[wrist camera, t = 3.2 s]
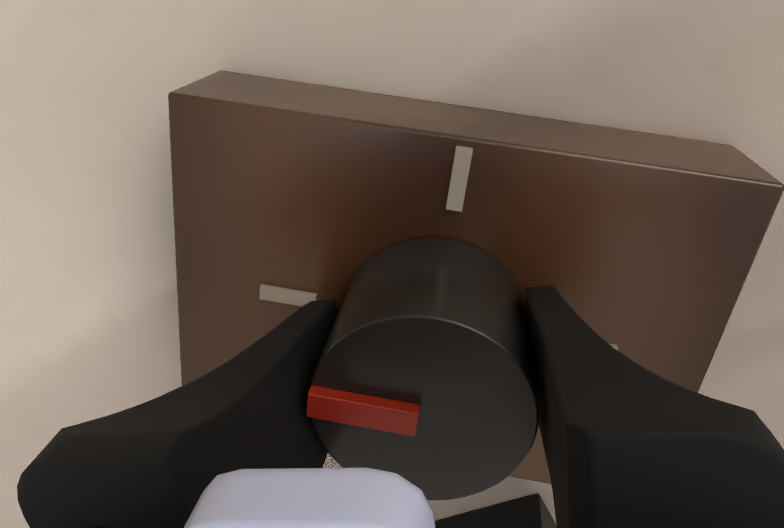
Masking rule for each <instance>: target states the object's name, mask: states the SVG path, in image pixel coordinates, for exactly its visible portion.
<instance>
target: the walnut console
mask: <svg viewBox="0 0 784 528" xmlns="http://www.w3.org/2000/svg"><path fill="white" fill-rule="evenodd" d="M168 98H169V120H170V141H171V163H172V184H173V206H174V227H175V249H176V270H177V292H178V313H179V335H180V356H181V378H182V386H184V385H186V384H188V383H190V382H192V381H194V380H196V379H198V378H200V377H202V376H203V375H205V374H207V373H209V372H210V371H212V370H214V369H216V368H217V367H219V366H221V365H222V364H224V363H226V362H227V361H229V360H230V359H232V358H233V357H235V356H236V355H238V354H239V353H241V352H242V351H243V350H245V349H246V348H248V347H249V346H251V345H252V344H253V343H255V342H256V341H258V340H259V339H261V338H262V337H263V336H265V335H266V334H267V333H268V332H270V331H271V330H272V329H274V328H275V327H276V326H278V325H279V324H280V323H282V322H283V321H284V320H285V319H287V318H288V317H289V316H291V315H292V314H293V313H294V312H296V311H297V310H298V309H300V308H301V307H303V306H304V305H305V304H307V303H309V302H310V301H316V300H332V299H336V303H337V308H338V313H339V310H340V308H341V306H342V303H343V301H344V298H345V296H346V294H347V291H348V289H349V286H350V284H351V282H352V281H353V279H354V277H355V275H356V274H357V273H358V271H359V270H360V268H361V267H362V266H363V265H364V264H365V263H366V262H367V261H368V260H369V259H371V258H372V257H373V256H375V255H376V254H377V253H379V252H381V251H382V250H384V249H386V248H388V247H390V246H392V245H395V244H397V243H400V242H404V241H407V240H411V239H419V238H445V239H452V240H456V241H460V242H464V243H466V244H469V245H472V246H474V247H476V248H478V249H480V250H482V251H484V252H486V253H488V254H489V255H491V256H492V257H494V258H495V259H496V260H497V261H499V262H500V263H501V264H502V265H503V266H504V267H505V268H506V269H507V270H508V271H509V272H510V273H511V275H512V276H513V277H514V279H515V280H516V282H517V283H518V285H519V287H520V289H521V291H522V293H523V295H524V298H525V302H526V292H525V287H540V286H554V287H555V288H556V289H557V290H558V291H559V292H560V294H561V295H562V296H563V298H564V299H565V300H566V301H567V303H568V304H569V305H570V306H571V307H572V308H573V310H574V311H575V312H576V313H577V314H578V315H579V316H580V317H581V318H582V319H583V320H584V321H585V322H586V323H587V324H588V325H589V326H590V327H591V328H592V329H593V330H594V331H595V332H596V333H597V334H598V335H599V336H600V337H601V338H603V339H604V340H605V341H606V342H607V343H609V344H610V345H611V346H612V347H613V348H615V349H616V350H617V351H619V352H620V353H622V354H623V355H625V356H626V357H628V358H629V359H631V360H632V361H634V362H635V363H637V364H639V365H640V366H642V367H644V368H645V369H647V370H649V371H651V372H653V373H655V374H657V375H659V376H660V377H662V378H664V379H666V380H668V381H670V382H673V383H675V384H677V385H679V386H681V387H684V388H686V389H689V390H691V391H694V392H696V393H698V391H699V388H700V386H701V383H702V381H703V379H704V376H705V374H706V372H707V369H708V367H709V365H710V362H711V360H712V358H713V355H714V353H715V350H716V348H717V346H718V343H719V341H720V339H721V336H722V334H723V332H724V329H725V327H726V325H727V322H728V320H729V317H730V315H731V313H732V310H733V308H734V306H735V303H736V301H737V299H738V296H739V294H740V292H741V289H742V287H743V284H744V282H745V280H746V277H747V275H748V273H749V270H750V268H751V266H752V263H753V261H754V259H755V256H756V254H757V251H758V249H759V247H760V244H761V242H762V240H763V237H764V235H765V233H766V230H767V228H768V225H769V223H770V221H771V218H772V216H773V214H774V211H775V209H776V207H777V204H778V202H779V200H780V197H781V195H782V192H783V190H784V185H783V184H782V183H781V182H780V181H778V180H777V179H776V178H774V177H773V176H772V175H770V174H769V173H768V172H766V171H765V170H764V169H763V168H761V167H760V166H759V165H757V164H756V163H755V162H753V161H752V160H751V159H750V158H748V157H747V156H746V155H744V154H743V153H742V152H740V151H739V150H738V149H736V148H735V147H734V146H731V145H724V144H717V143H710V142H703V141H697V140H690V139H683V138H676V137H669V136H663V135H656V134H649V133H642V132H635V131H629V130H622V129H615V128H608V127H601V126H595V125H588V124H581V123H574V122H567V121H560V120H554V119H547V118H540V117H533V116H526V115H520V114H513V113H506V112H499V111H492V110H486V109H479V108H472V107H465V106H458V105H452V104H445V103H438V102H431V101H424V100H417V99H411V98H404V97H397V96H390V95H383V94H377V93H370V92H363V91H356V90H349V89H343V88H336V87H329V86H322V85H315V84H309V83H302V82H295V81H288V80H281V79H275V78H268V77H261V76H254V75H247V74H240V73H234V72H227V71H219V72H217V73H214V74H212V75H210V76H207V77H205V78H203V79H200V80H198V81H196V82H193V83H191V84H189V85H186V86H184V87H181V88H179V89H177V90H174V91H172V92H170V93H169V95H168ZM509 476H512V477H517V478H522V479H528V480H533V481H538V482H544V483H549V484H551V479H550V474H549V469H548V465H547V460H546V456H545V451H544V447H543V442H542V437H541V433H540V428H539V425H538V430H537V435H536V438H535V440H534V443H533V446H532V448H531V449H530V451H529V453H528V455H527V456H526V458H525V459H524V461H523V462H522V463H521V464H520V465H519V467H518V468H517V469H516V470H515V471H514V472H512V473H511V474H510V475H509Z"/></svg>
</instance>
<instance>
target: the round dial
mask: <svg viewBox="0 0 784 528" xmlns="http://www.w3.org/2000/svg"><path fill="white" fill-rule="evenodd" d="M306 416H307V417H311V419H312V422H313V426H314V429H315V431H316V433H317V435H318V437H319V439H320V441H321V443H322V444H323V446H324V447H325V449H326V450H327V451H328V453H329V454H330V455H331V456H332V457H333V458H334V460H335V461H336V462H337V463H339V464H340V465H341V466H342V467H343V468H371V469H377V470H382V471H387V472H392V473H397V474H398V475H400V476H401V477H403V478H404V479H406V480H407V481H409V482H410V483H412V484H413V485H415V486H416V487H418V488H419V489H421V490H422V492H423V494H424V496H425V498H426V499H427V500H449V499H455V498H462V497H465V496H469V495H473V494H476V493H479V492H481V491H484V490H487V489H488V488H490V487H492V486H494V485H496V484H498V483H499V482H501V481H502V480H504V479H505V478H507V477H508V476H509V475H510V474H511V473H512V472H514V471H515V470H516V469H517V468H518V467H519V465H520V464H521V463H522V462H523V461H524V459H525V458H526V456H527V455H528V453H529V451H530V449H531V448H532V446H533V443H534V440H535V438H536V435H537V430H538V425H539V406H538V397H537V388H536V379H535V371H534V362H533V355H532V347H531V341H530V336H529V328H528V319H527V308H526V302H525V298H524V295H523V293H522V291H521V289H520V287H519V285H518V283H517V282H516V280H515V279H514V277H513V276H512V275H511V273H510V272H509V271H508V270H507V269H506V268H505V267H504V266H503V265H502V264H501V263H500V262H499V261H497V260H496V259H495V258H494V257H492V256H491V255H489V254H488V253H486V252H484V251H482V250H480V249H478V248H476V247H474V246H472V245H469V244H466V243H464V242H460V241H456V240H452V239H445V238H419V239H411V240H407V241H404V242H400V243H397V244H395V245H392V246H390V247H388V248H386V249H384V250H382V251H381V252H379V253H377V254H376V255H375V256H373V257H372V258H371V259H369V260H368V261H367V262H366V263H365V264H364V265H363V266H362V267H361V268H360V270H359V271H358V273H357V274H356V275H355V277H354V279H353V281H352V282H351V284H350V286H349V289H348V291H347V294H346V296H345V298H344V301H343V303H342V306H341V308H340V310H339V313H338V315H337V317H336V320H335V322H334V325H333V327H332V329H331V332H330V334H329V337H328V339H327V341H326V344H325V346H324V349H323V351H322V353H321V356H320V358H319V361H318V363H317V365H316V368H315V370H314V373H313V376H312V379H311V383H310V389H309V392H308V395H307V409H306Z"/></svg>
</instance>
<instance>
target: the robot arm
mask: <svg viewBox="0 0 784 528" xmlns="http://www.w3.org/2000/svg"><path fill="white" fill-rule="evenodd" d="M525 292H526V308H527V319H528V328H529V336H530V341H531V347H532V355H533V362H534V371H535V379H536V388H537V397H538V406H539V428H540V433H541V437H542V442H543V447H544V451H545V456H546V460H547V465H548V469H549V474H550V479H551V485H552V490H553V497H554V506H555V515H556V524H557V528H784V450H783V448H782V447H781V445H780V444H779V442H778V441H777V440H776V438H775V437H774V436H773V434H772V433H771V431H770V430H769V429H768V428H767V427H766V426H765V424H764V423H763V422H762V421H761V420H760V418H759V417H758V416H757V414H756V413H755V412H754V411H752V410H749V409H746V408H742V407H739V406H736V405H732V404H729V403H726V402H722V401H719V400H716V399H712V398H709V397H707V396H704V395H701V394H699V393H696V392H694V391H691V390H689V389H686V388H684V387H681V386H679V385H677V384H675V383H673V382H670V381H668V380H666V379H664V378H662V377H660V376H659V375H657V374H655V373H653V372H651V371H649V370H647V369H645V368H644V367H642V366H640V365H639V364H637V363H635V362H634V361H632V360H631V359H629V358H628V357H626V356H625V355H623V354H622V353H620V352H619V351H617V350H616V349H615V348H613V347H612V346H611V345H610V344H609V343H607V342H606V341H605V340H604V339H603V338H601V337H600V336H599V335H598V334H597V333H596V332H595V331H594V330H593V329H592V328H591V327H590V326H589V325H588V324H587V323H586V322H585V321H584V320H583V319H582V318H581V317H580V316H579V315H578V314H577V313H576V312H575V311H574V310H573V308H572V307H571V306H570V305H569V304H568V303H567V301H566V300H565V299H564V298H563V296H562V295H561V294H560V292H559V291H558V290H557V289H556V288H555V287H554V286H540V287H525ZM337 315H338V308H337V303H336V299H332V300H316V301H310V302H309V303H307V304H305V305H304V306H303V307H301V308H300V309H298V310H297V311H296V312H294V313H293V314H292V315H291V316H289V317H288V318H287V319H285V320H284V321H283V322H282V323H280V324H279V325H278V326H276V327H275V328H274V329H272V330H271V331H270V332H268V333H267V334H266V335H265V336H263V337H262V338H261V339H259V340H258V341H256V342H255V343H253V344H252V345H251V346H249V347H248V348H246V349H245V350H243V351H242V352H241V353H239V354H238V355H236V356H235V357H233V358H232V359H230V360H229V361H227V362H226V363H224V364H222V365H221V366H219V367H217V368H216V369H214V370H212V371H210V372H209V373H207V374H205V375H203V376H202V377H200V378H198V379H196V380H194V381H192V382H190V383H188V384H186V385H184V386H181V387H179V388H177V389H175V390H173V391H171V392H169V393H166V394H164V395H162V396H160V397H158V398H155V399H153V400H150V401H148V402H145V403H143V404H140V405H137V406H135V407H132V408H129V409H126V410H123V411H121V412H118V413H115V414H112V415H109V416H105V417H102V418H98V419H95V420H91V421H88V422H84V423H81V424H77V425H74V426H70V427H66V428H62V429H61V430H60V431H59V432H58V433H57V434H56V436H55V437H54V438H53V439H52V440H51V441H50V442H49V443H48V445H47V446H46V447H45V448H44V449H43V450H42V451H41V452H40V454H39V455H38V456H37V457H36V458H35V459H34V460H33V461H32V463H31V464H30V465H29V466H28V467H27V468H26V469H25V470H24V472H23V473H22V474H21V477H20V479H19V482H18V485H17V492H18V502H19V505H20V507H21V510H22V513H23V515H24V517H25V519H26V521H27V523H28V525H29V527H30V528H435V521H434V515H433V511H432V509H431V507H430V505H429V503H428V501H427V499H426V498H425V496H424V494H423V492H422V490H421V489H419V488H418V487H416V486H415V485H413V484H412V483H410V482H409V481H407V480H406V479H404V478H403V477H401V476H400V475H398V474H397V473H392V472H387V471H382V470H377V469H371V468H323V465H324V462H325V459H326V456H327V453H328V451H327V450H326V449H325V447H324V446H323V444H322V443H321V441H320V439H319V437H318V435H317V433H316V431H315V429H314V426H313V422H312V419H311V417H307V416H306V409H307V395H308V392H309V389H310V383H311V379H312V376H313V373H314V370H315V368H316V365H317V363H318V361H319V358H320V356H321V353H322V351H323V349H324V346H325V344H326V341H327V339H328V337H329V334H330V332H331V329H332V327H333V325H334V322H335V320H336V317H337Z"/></svg>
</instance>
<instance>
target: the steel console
mask: <svg viewBox="0 0 784 528" xmlns="http://www.w3.org/2000/svg"><path fill="white" fill-rule="evenodd" d="M435 528H557V526H556V524H555V522H554V520H553V518H552V517H551V515H550V513H549V511H548V510H547V508H546V506H545V504H544V503H543V501H542V499H541V497H540V495H539V494H535V495H532V496H528V497H524V498H521V499H517V500H513V501H510V502H506V503H502V504H499V505H495V506H491V507H488V508H484V509H480V510H477V511H473V512H469V513H466V514H462V515H458V516H455V517H451V518H447V519H444V520H440V521H436V522H435Z"/></svg>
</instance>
